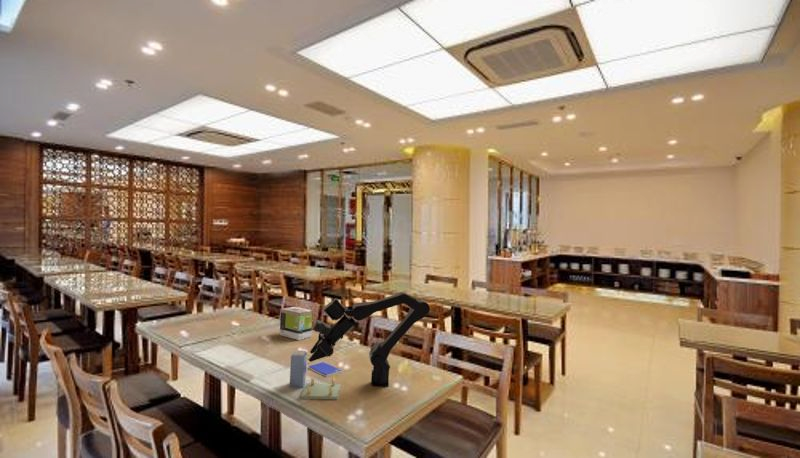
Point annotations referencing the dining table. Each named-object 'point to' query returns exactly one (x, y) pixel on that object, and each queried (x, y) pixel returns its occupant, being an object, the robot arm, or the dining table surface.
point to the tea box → (296, 323)
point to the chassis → (320, 390)
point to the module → (298, 369)
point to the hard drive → (324, 369)
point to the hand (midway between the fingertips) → (310, 356)
